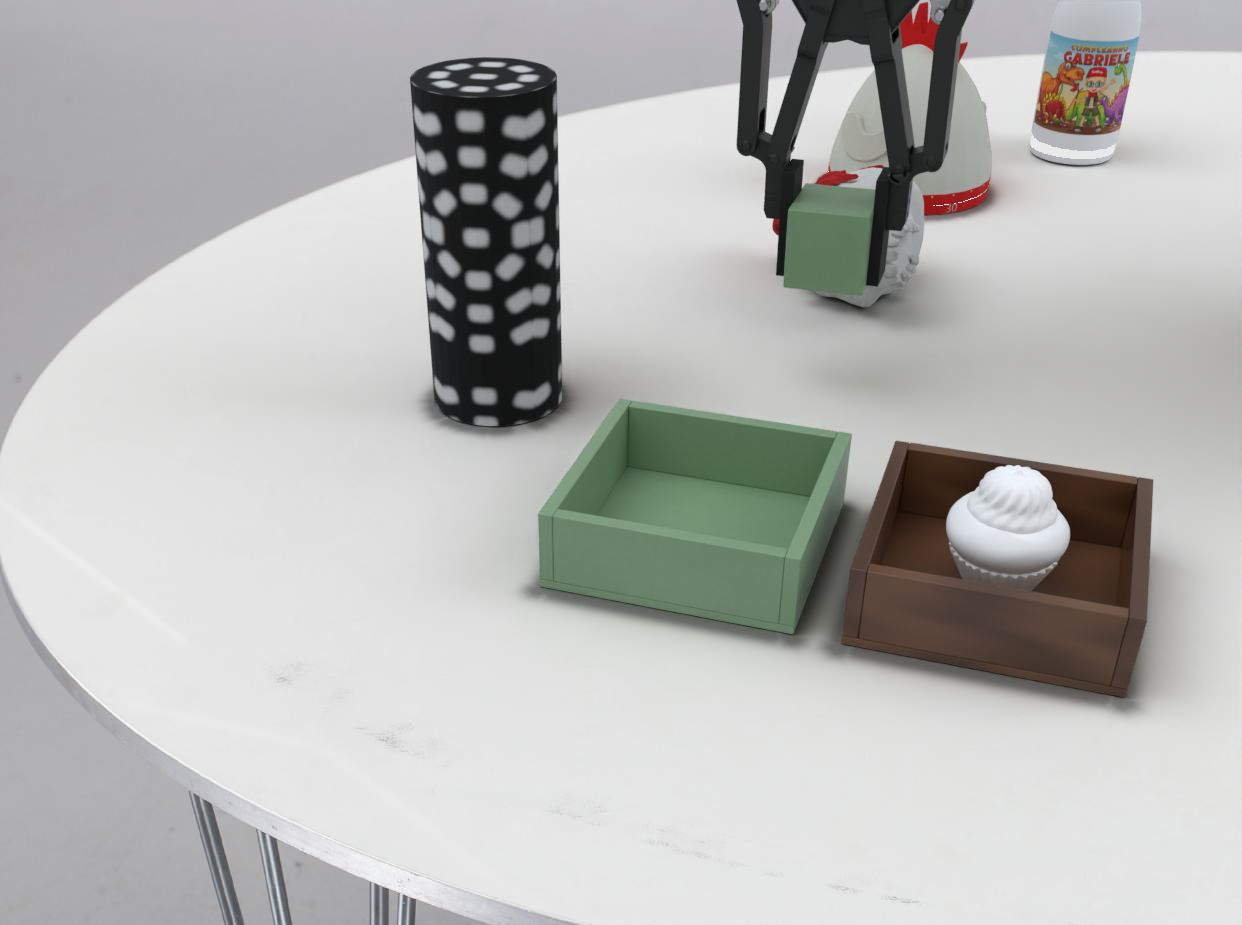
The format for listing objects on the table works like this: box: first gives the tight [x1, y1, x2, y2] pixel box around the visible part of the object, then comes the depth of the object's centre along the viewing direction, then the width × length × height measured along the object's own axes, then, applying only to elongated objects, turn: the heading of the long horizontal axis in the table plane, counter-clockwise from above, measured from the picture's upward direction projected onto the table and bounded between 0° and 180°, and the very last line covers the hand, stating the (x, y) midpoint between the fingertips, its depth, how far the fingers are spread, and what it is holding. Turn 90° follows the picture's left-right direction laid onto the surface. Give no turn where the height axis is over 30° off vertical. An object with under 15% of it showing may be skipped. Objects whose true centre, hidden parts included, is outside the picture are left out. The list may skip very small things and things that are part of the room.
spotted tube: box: [409, 56, 563, 427], centre depth 87 cm, size 8×8×20 cm
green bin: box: [537, 398, 853, 635], centre depth 78 cm, size 14×14×4 cm
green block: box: [782, 182, 875, 296], centre depth 89 cm, size 5×5×5 cm
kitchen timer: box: [827, 1, 993, 216], centre depth 121 cm, size 14×14×15 cm
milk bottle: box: [1028, 0, 1143, 166], centre depth 127 cm, size 8×8×20 cm
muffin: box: [946, 465, 1070, 591], centre depth 72 cm, size 6×6×7 cm
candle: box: [771, 165, 925, 308], centre depth 106 cm, size 9×11×15 cm
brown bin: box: [840, 440, 1154, 698], centre depth 73 cm, size 14×14×4 cm
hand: (830, 272), depth 91 cm, fingers closed on green block, 5 cm apart
